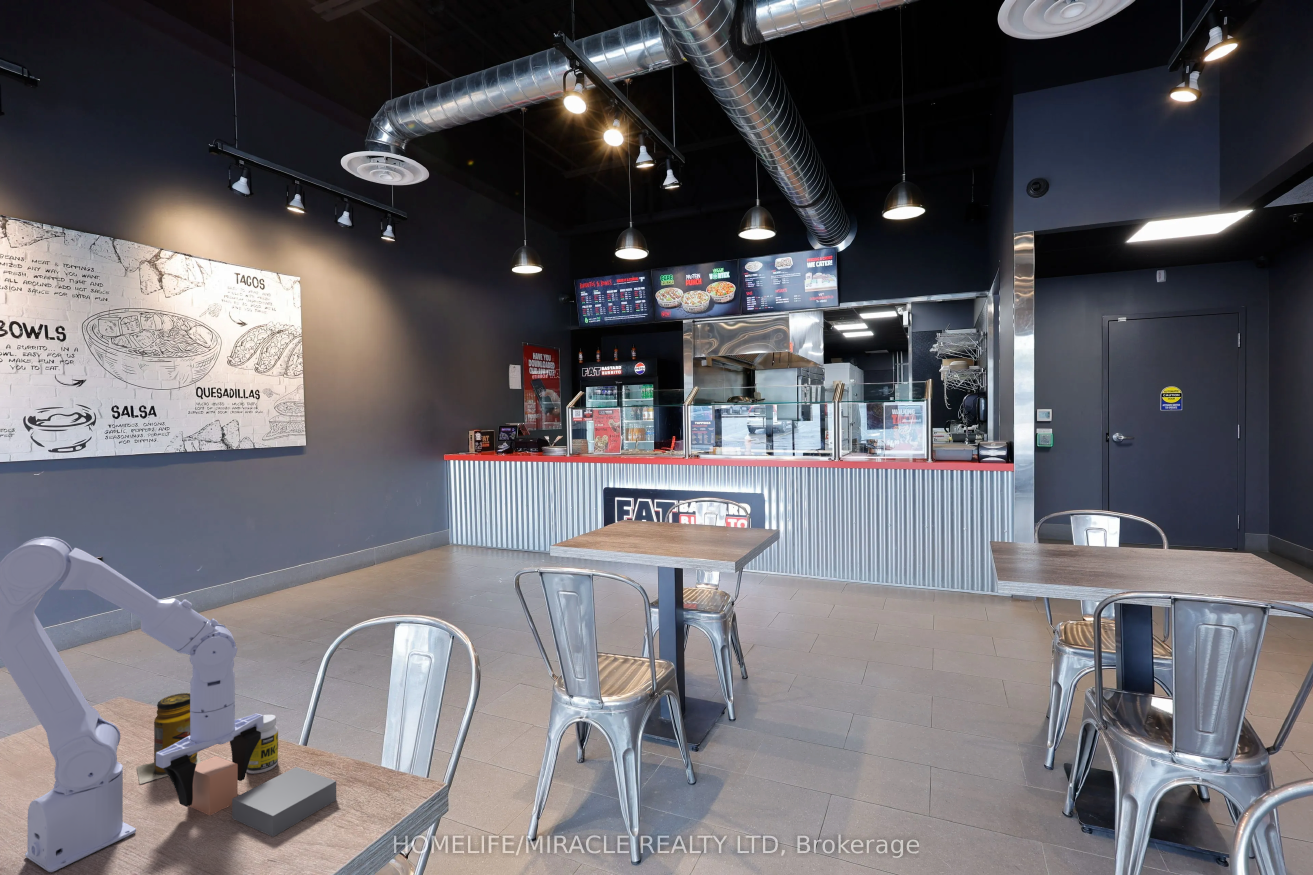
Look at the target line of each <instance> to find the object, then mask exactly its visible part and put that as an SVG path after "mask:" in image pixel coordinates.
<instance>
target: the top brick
mask: <svg viewBox="0 0 1313 875" xmlns="http://www.w3.org/2000/svg"><path fill="white" fill-rule="evenodd" d="M238 781H239V780H238V764H236V763H233V762H232V760H228V759H225V758H223V757H220V756H217V755H214V756H212V757H210V758H208V759H205V760H203V761H201V762H200V763H198V764H197V765H196V768H195V772H194V777H193V801H192V805H190V806H189V808H192V809H194V810H196V811H199V812H201V813H203V814H205V815H207V816H211V815H214V814H216V813H218V812H221V811H222V810H224V809H226V808H228V807H230V806H232V799H233V798H235V797H237V796H239V795H238V792H239V791H238V790H239V789H238V784H239V782H238Z"/></svg>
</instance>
